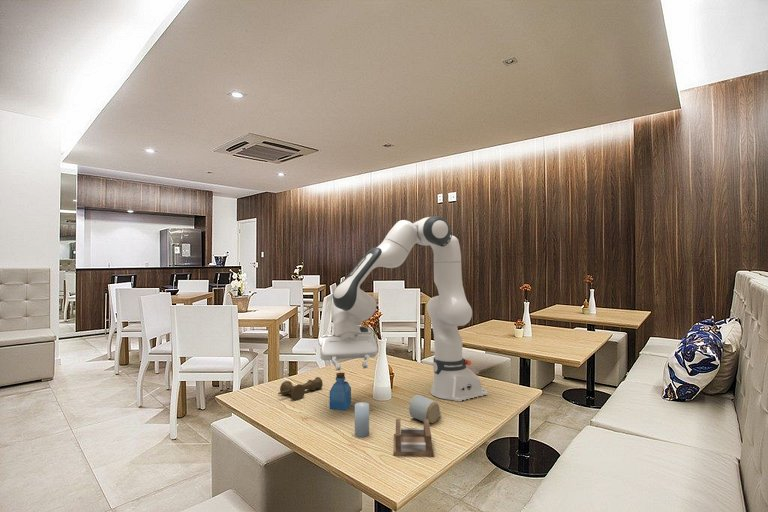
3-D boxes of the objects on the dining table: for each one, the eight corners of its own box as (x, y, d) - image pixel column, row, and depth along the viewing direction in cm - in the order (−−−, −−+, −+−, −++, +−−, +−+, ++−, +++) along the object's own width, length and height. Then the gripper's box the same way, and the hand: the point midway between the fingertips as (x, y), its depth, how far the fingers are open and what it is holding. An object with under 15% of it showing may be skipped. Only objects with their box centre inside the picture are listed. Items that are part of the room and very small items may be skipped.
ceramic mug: (427, 427, 122) (428, 403, 122) (408, 420, 127) (408, 397, 128) (446, 418, 129) (446, 395, 130) (427, 411, 135) (427, 389, 135)
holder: (430, 437, 115) (430, 419, 115) (433, 456, 104) (433, 436, 104) (393, 437, 115) (393, 418, 115) (393, 455, 104) (393, 435, 104)
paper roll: (367, 430, 120) (366, 401, 120) (370, 436, 116) (370, 406, 116) (353, 431, 119) (353, 402, 119) (356, 438, 114) (356, 407, 115)
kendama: (327, 392, 156) (284, 404, 142) (312, 387, 163) (271, 399, 148) (327, 377, 157) (285, 388, 142) (312, 373, 163) (271, 383, 148)
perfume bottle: (346, 410, 136) (346, 376, 136) (329, 409, 137) (329, 375, 137) (351, 404, 142) (350, 371, 142) (335, 402, 143) (335, 370, 143)
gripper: (318, 330, 133) (322, 365, 124) (374, 328, 140) (382, 361, 130) (316, 340, 138) (320, 375, 128) (371, 338, 144) (378, 371, 134)
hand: (352, 368), depth 129 cm, fingers open, 8 cm apart
